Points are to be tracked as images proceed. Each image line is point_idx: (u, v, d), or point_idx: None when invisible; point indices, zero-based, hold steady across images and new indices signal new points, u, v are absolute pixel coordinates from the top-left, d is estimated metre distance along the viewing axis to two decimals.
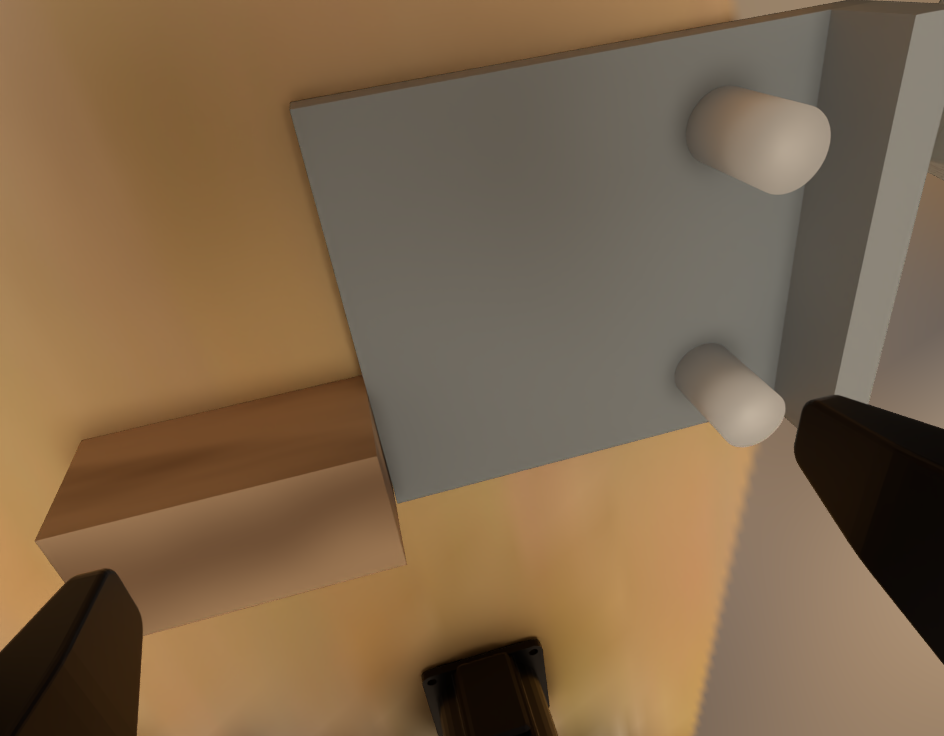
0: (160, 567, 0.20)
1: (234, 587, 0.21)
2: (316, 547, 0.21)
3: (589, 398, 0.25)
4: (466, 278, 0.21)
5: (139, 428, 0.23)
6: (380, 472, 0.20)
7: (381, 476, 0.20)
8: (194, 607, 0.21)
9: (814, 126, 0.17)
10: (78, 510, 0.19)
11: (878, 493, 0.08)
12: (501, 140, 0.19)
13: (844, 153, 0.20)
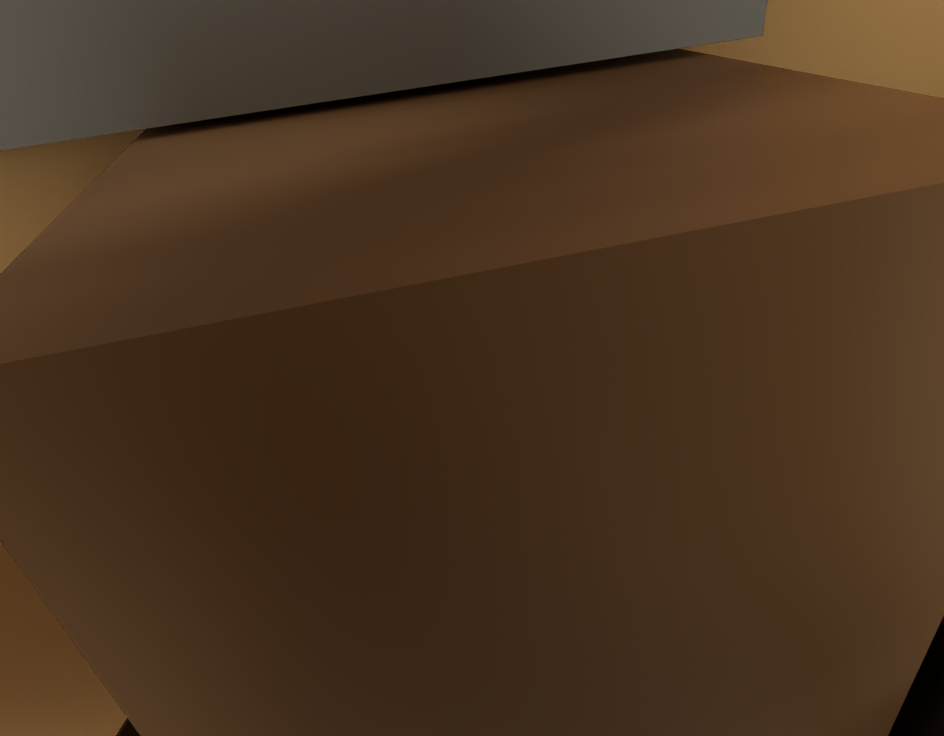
0: None
1: None
2: (698, 639, 0.04)
3: None
4: None
5: None
6: (112, 347, 0.02)
7: (161, 340, 0.02)
8: None
9: None
10: None
11: None
12: None
13: None
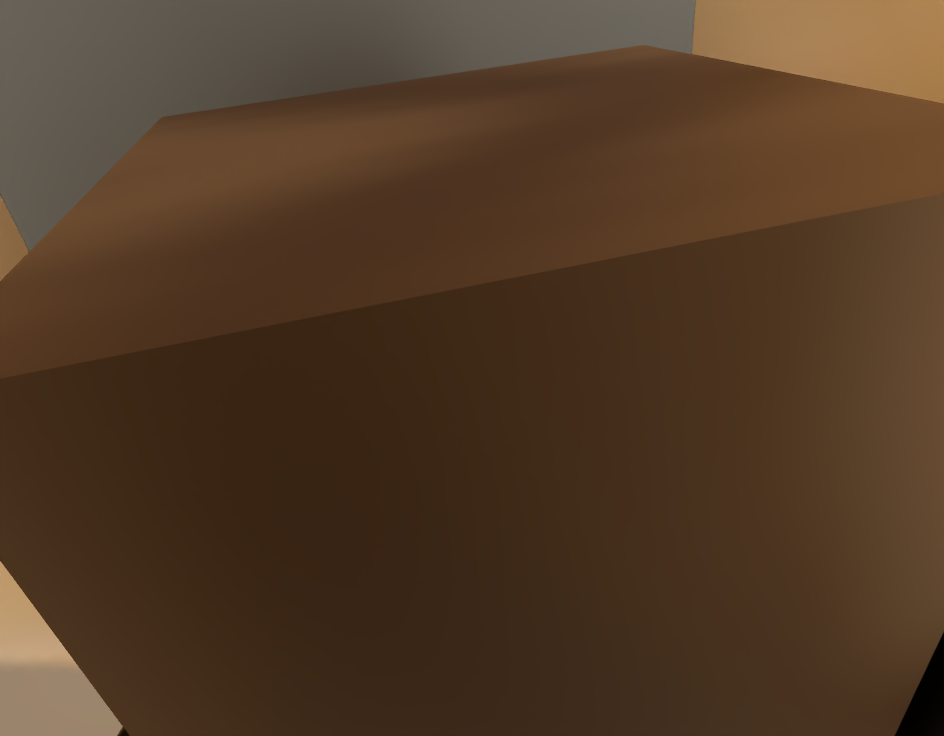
0: None
1: None
2: (702, 647, 0.04)
3: None
4: None
5: None
6: (109, 362, 0.02)
7: (158, 355, 0.02)
8: None
9: None
10: None
11: None
12: None
13: None
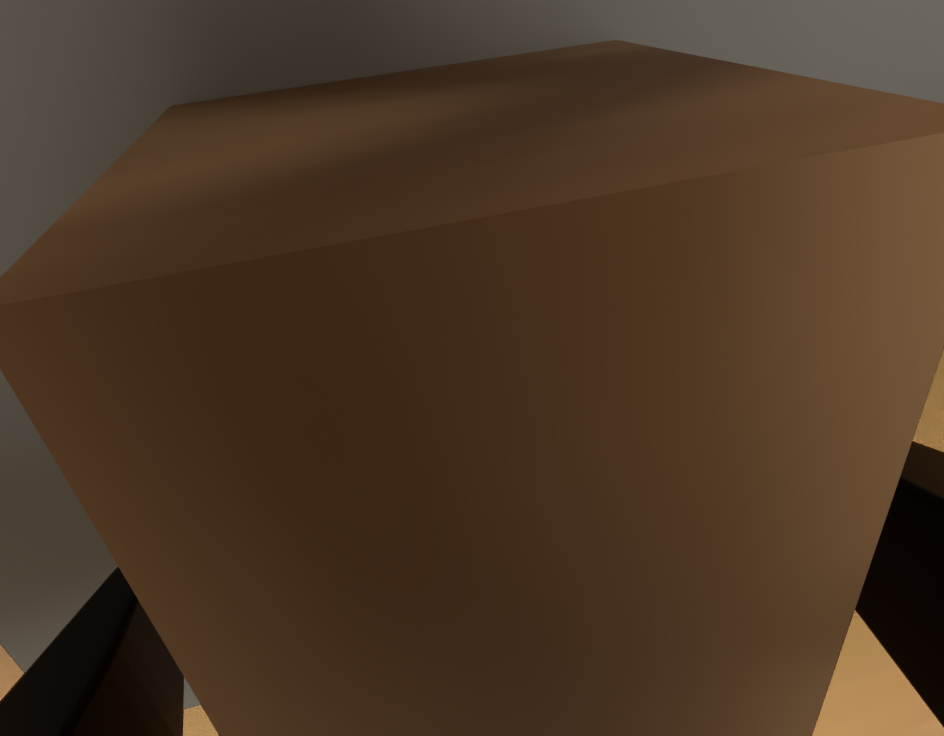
0: None
1: None
2: (649, 565, 0.04)
3: None
4: None
5: None
6: (143, 284, 0.03)
7: (182, 278, 0.03)
8: None
9: None
10: None
11: None
12: (38, 467, 0.09)
13: None
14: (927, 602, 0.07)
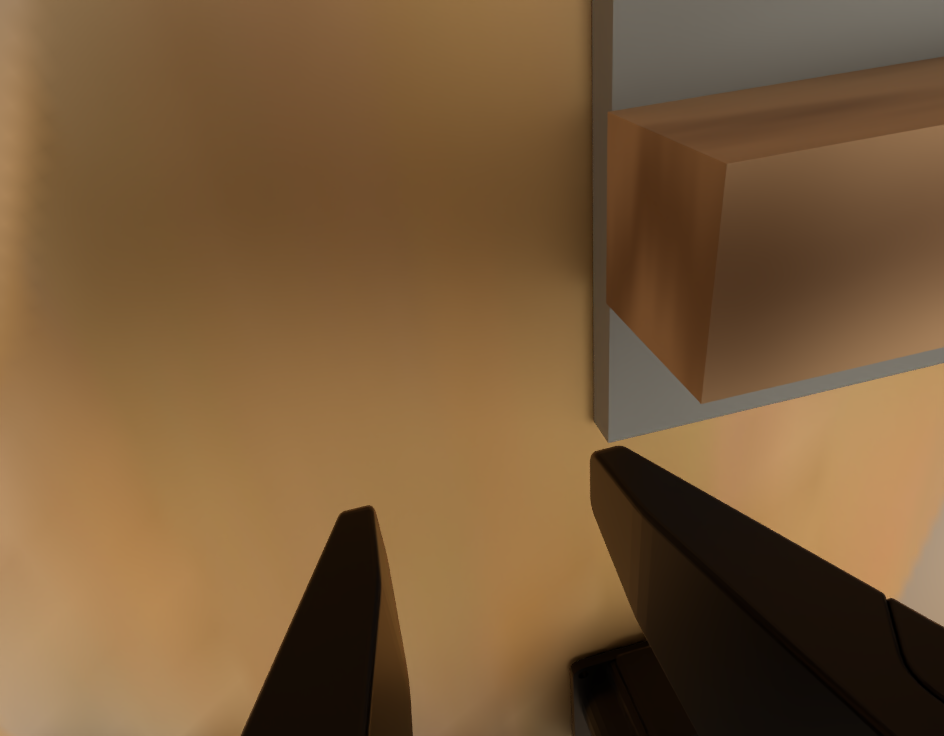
0: (842, 256, 0.12)
1: (899, 317, 0.13)
2: None
3: None
4: None
5: (691, 101, 0.15)
6: None
7: None
8: (834, 347, 0.14)
9: None
10: (748, 143, 0.12)
11: (639, 556, 0.07)
12: None
13: None
14: (705, 667, 0.06)
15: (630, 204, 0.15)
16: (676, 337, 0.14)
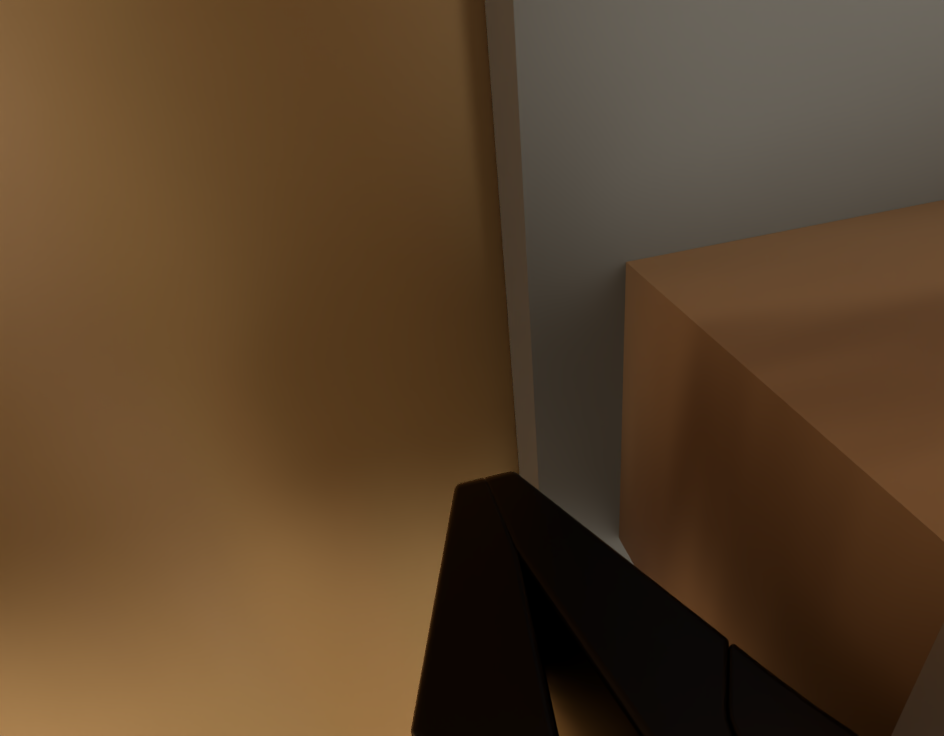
0: None
1: None
2: None
3: None
4: None
5: (781, 241, 0.08)
6: None
7: None
8: None
9: None
10: None
11: None
12: None
13: None
14: (570, 707, 0.06)
15: (668, 437, 0.08)
16: None
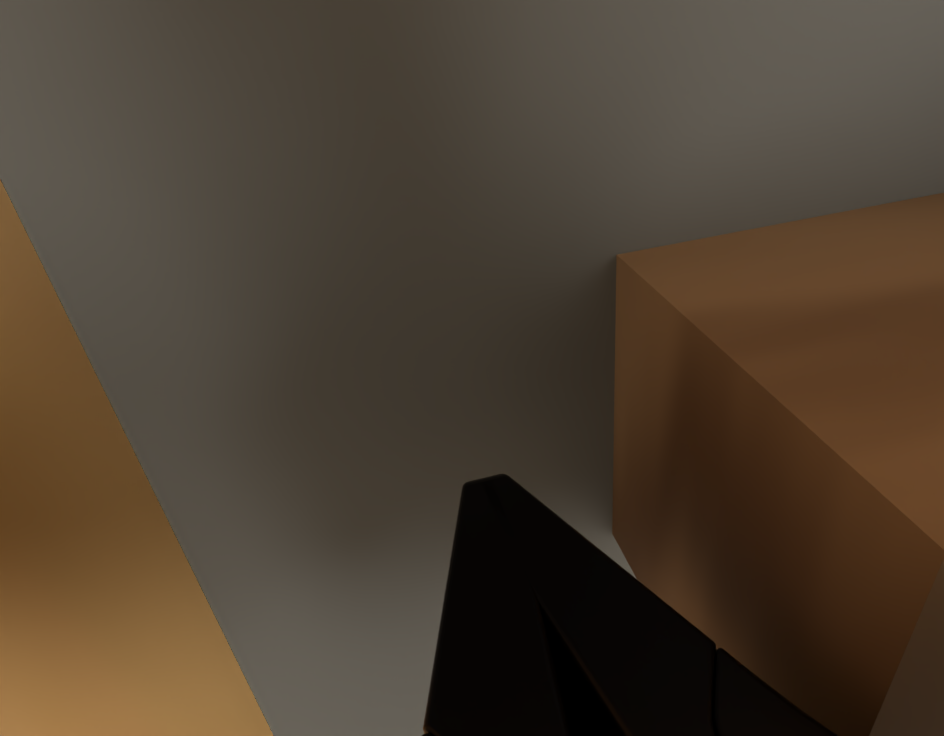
0: None
1: None
2: None
3: None
4: (452, 369, 0.08)
5: (772, 235, 0.08)
6: None
7: None
8: None
9: None
10: None
11: None
12: None
13: None
14: None
15: (658, 430, 0.08)
16: None
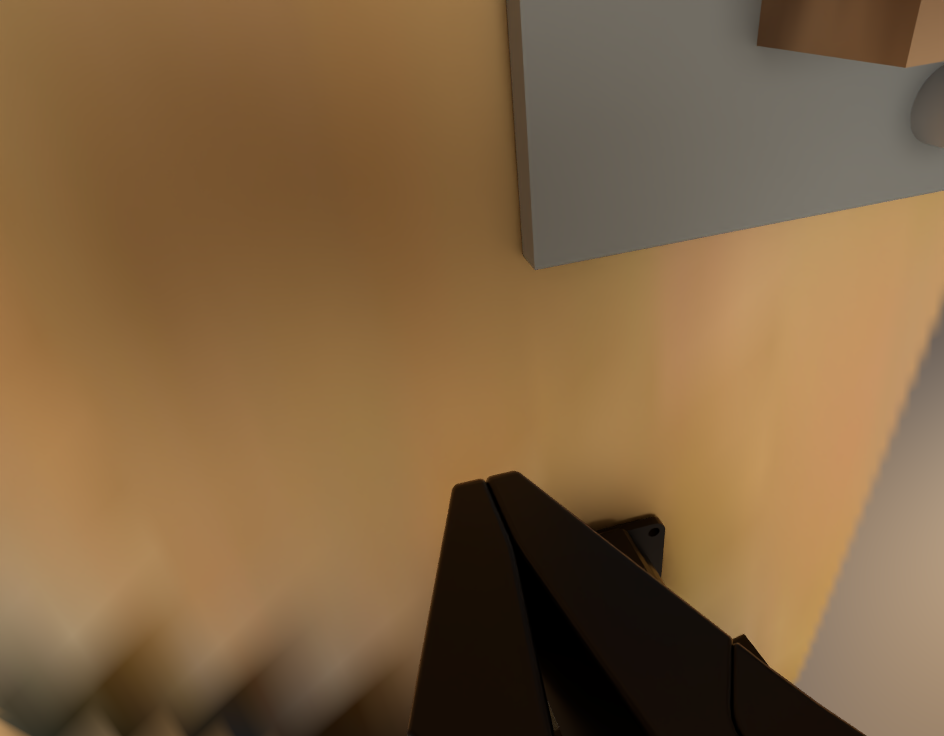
0: None
1: None
2: None
3: (802, 128, 0.18)
4: None
5: None
6: None
7: None
8: None
9: None
10: None
11: None
12: None
13: None
14: (573, 706, 0.06)
15: None
16: (871, 9, 0.13)
